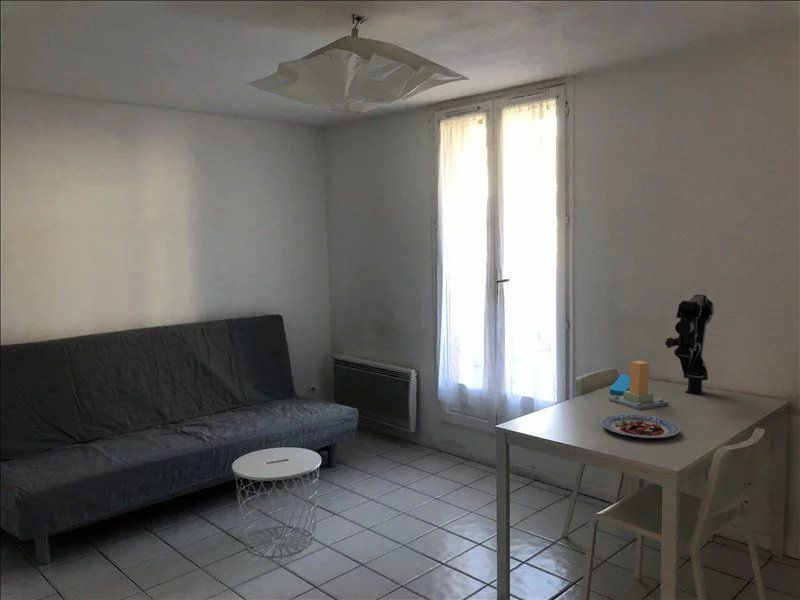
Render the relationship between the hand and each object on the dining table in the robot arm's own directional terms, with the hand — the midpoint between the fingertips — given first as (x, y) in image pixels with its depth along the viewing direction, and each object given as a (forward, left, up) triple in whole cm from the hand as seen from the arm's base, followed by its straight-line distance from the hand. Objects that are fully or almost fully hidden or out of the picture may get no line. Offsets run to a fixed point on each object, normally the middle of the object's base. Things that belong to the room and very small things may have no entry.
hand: (686, 369), depth 263 cm
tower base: (+14, -15, -13) cm, 24 cm away
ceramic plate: (+50, -4, -14) cm, 52 cm away
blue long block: (-3, -25, -14) cm, 29 cm away
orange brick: (+14, -15, -9) cm, 22 cm away
